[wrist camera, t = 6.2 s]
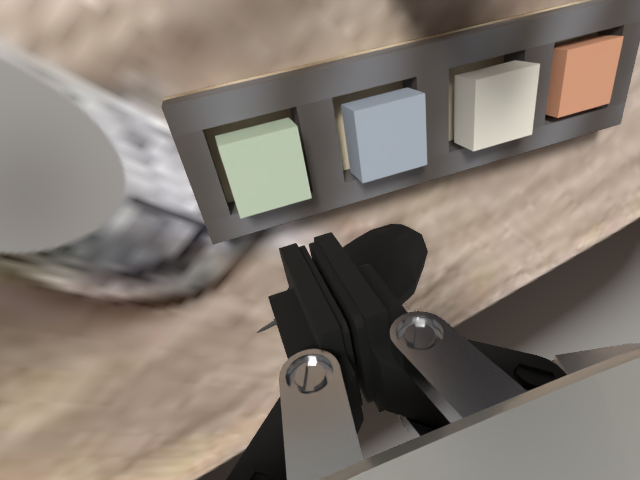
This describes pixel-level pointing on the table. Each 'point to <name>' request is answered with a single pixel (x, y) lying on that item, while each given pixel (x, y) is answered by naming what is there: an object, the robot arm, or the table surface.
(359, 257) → the gaming mouse
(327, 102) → the keypad
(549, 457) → the robot arm
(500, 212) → the table surface
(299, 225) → the table surface
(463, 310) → the table surface
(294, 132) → the key sage
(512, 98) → the key ivory
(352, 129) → the key slate
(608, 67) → the key terracotta
